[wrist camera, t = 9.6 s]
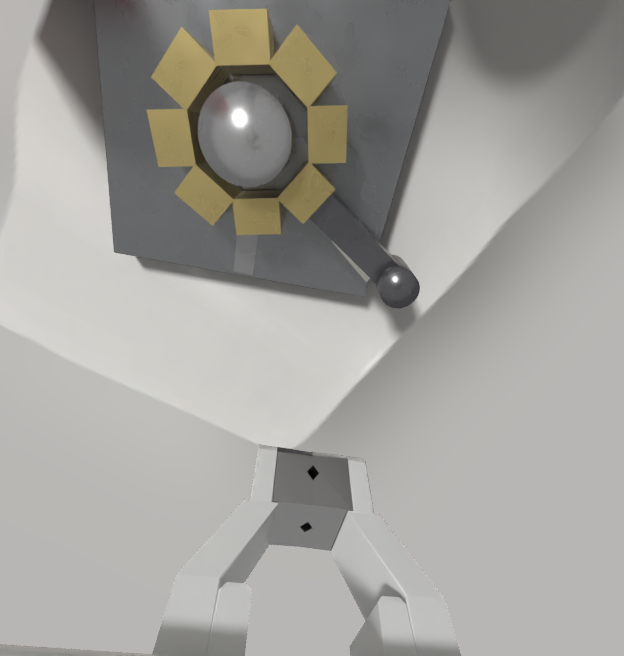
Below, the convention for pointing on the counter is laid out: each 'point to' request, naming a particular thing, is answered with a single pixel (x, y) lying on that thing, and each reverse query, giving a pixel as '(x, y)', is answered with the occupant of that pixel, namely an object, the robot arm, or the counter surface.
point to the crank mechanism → (263, 130)
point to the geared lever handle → (323, 141)
